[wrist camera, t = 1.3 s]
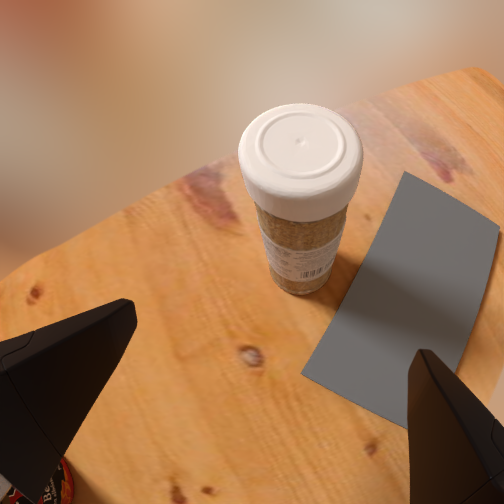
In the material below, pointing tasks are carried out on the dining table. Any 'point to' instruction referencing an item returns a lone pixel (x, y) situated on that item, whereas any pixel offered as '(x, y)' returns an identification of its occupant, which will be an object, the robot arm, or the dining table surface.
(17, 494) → the canned food
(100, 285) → the dining table surface
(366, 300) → the charcoal mat
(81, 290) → the dining table surface
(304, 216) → the spice jar
